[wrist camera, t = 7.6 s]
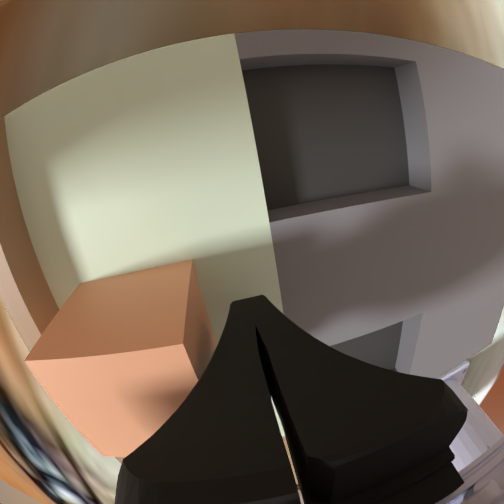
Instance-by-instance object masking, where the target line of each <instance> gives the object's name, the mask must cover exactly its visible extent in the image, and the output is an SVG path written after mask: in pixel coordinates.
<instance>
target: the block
mask: <svg viewBox="0 0 504 504" xmlns="http://www.w3.org/2000/svg"><path fill="white" fill-rule="evenodd" d="M216 347H217V342H216V339H215V336H214V333H213V329H212V326H211V323H210V320H209V316H208V313H207V310H206V306H205V303H204V299H203V296H202V292H201V289H200V285H199V282H198V278H197V275H196V271H195V267H194V264H193V260H192V259H191V260H186V261H182V262H177V263H172V264H168V265H163V266H158V267H154V268H149V269H145V270H140V271H136V272H131V273H126V274H122V275H117V276H113V277H108V278H104V279H99V280H95V281H90V282H86V283H81V284H79V285H78V287H77V288H76V289H75V290H74V292H73V293H72V294H71V295H70V297H69V298H68V299H67V301H66V302H65V303H64V305H63V306H62V307H61V309H60V310H59V311H58V313H57V314H56V315H55V317H54V318H53V320H52V321H51V322H50V324H49V325H48V326H47V328H46V329H45V331H44V332H43V334H42V335H41V337H40V338H39V339H38V341H37V342H36V344H35V345H34V347H33V348H32V350H31V351H30V353H29V355H28V356H27V358H26V359H25V363H26V364H27V366H28V367H29V369H30V370H31V372H32V373H33V375H34V376H35V377H36V379H37V380H38V382H39V383H40V384H41V386H42V387H43V389H44V390H45V391H46V393H47V394H48V395H49V397H50V398H51V399H52V400H53V402H54V403H55V404H56V405H57V407H58V408H59V409H60V410H61V412H62V413H63V414H64V415H65V416H66V417H67V419H68V420H69V421H70V422H71V423H72V424H73V426H74V427H75V428H76V429H77V430H78V431H79V432H80V433H81V434H82V435H83V436H84V437H85V439H86V440H87V441H88V442H89V443H90V444H91V445H92V446H93V447H94V448H95V449H96V450H97V451H98V452H99V453H100V454H101V455H102V456H106V457H126V456H128V455H129V454H130V453H132V452H133V451H134V450H135V449H137V448H138V447H139V446H140V445H141V444H143V443H144V442H145V441H146V440H147V439H148V438H150V437H151V436H152V435H153V434H154V433H155V432H156V431H157V430H158V429H159V428H160V427H161V426H162V425H163V424H164V423H165V422H166V421H167V420H168V419H169V417H170V416H171V415H172V414H173V413H174V412H175V411H176V410H177V409H178V408H179V406H180V405H181V404H182V403H183V401H184V400H185V399H186V397H187V396H188V395H189V393H190V392H191V390H192V389H193V388H194V386H195V385H196V383H197V382H198V380H199V379H200V377H201V375H202V374H203V372H204V370H205V369H206V367H207V365H208V363H209V361H210V359H211V357H212V355H213V353H214V351H215V349H216Z"/></svg>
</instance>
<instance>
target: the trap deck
mask: <svg viewBox="0 0 504 504" xmlns="http://www.w3.org/2000/svg"><path fill="white" fill-rule="evenodd" d="M191 259H192V260H193V264H194V267H195V271H196V275H197V278H198V282H199V285H200V289H201V292H202V296H203V299H204V303H205V306H206V310H207V313H208V316H209V320H210V323H211V326H212V329H213V333H214V336H215V339H216V342H217V345H218V342H219V340H220V337H221V335H222V332H223V329H224V327H225V324H226V321H227V317H228V313H229V309H230V304H231V303H232V301H236V300H241V299H245V298H250V297H254V296H258V295H264V296H266V297H267V298H268V299H269V301H270V302H271V303H272V304H273V305H274V306H275V307H276V308H277V309H278V310H280V311H281V312H282V313H283V314H284V315H285V316H286V317H288V318H289V319H290V320H291V321H293V322H294V323H295V324H296V325H298V326H299V327H300V328H302V329H303V330H304V331H306V332H307V333H309V334H310V335H312V336H313V337H315V338H316V339H318V340H320V341H321V342H323V343H325V344H326V345H328V346H330V347H332V348H334V349H336V350H338V351H340V352H342V353H344V354H346V355H348V356H351V357H354V358H356V359H359V360H361V361H364V362H366V363H369V364H372V365H375V366H378V367H382V368H385V369H389V370H393V371H396V372H400V373H405V374H410V375H416V376H422V377H429V378H436V377H438V376H440V375H442V374H443V373H445V372H447V371H449V370H450V369H452V368H454V367H455V366H457V365H459V364H460V363H462V362H464V361H465V360H467V359H469V358H470V357H472V356H473V355H475V354H476V353H478V352H479V351H481V350H482V349H484V348H485V347H487V346H488V345H490V344H491V343H492V340H493V337H494V334H495V331H496V329H497V326H498V323H499V319H500V316H501V313H502V310H503V306H504V69H503V68H501V67H498V66H496V65H493V64H491V63H488V62H486V61H483V60H480V59H478V58H475V57H472V56H469V55H466V54H463V53H460V52H457V51H454V50H450V49H447V48H443V47H439V46H436V45H432V44H428V43H423V42H419V41H414V40H410V39H405V38H399V37H393V36H387V35H381V34H373V33H365V32H356V31H344V30H326V29H282V30H264V31H251V32H242V33H233V34H226V35H219V36H212V37H207V38H201V39H196V40H191V41H186V42H181V43H177V44H173V45H168V46H164V47H160V48H157V49H153V50H149V51H146V52H143V53H139V54H136V55H133V56H130V57H127V58H124V59H121V60H118V61H115V62H112V63H109V64H107V65H104V66H101V67H99V68H96V69H94V70H91V71H89V72H87V73H84V74H82V75H80V76H77V77H75V78H73V79H71V80H68V81H66V82H64V83H62V84H60V85H58V86H56V87H54V88H52V89H50V90H48V91H46V92H44V93H42V94H41V95H39V96H37V97H35V98H33V99H31V100H30V101H28V102H26V103H25V104H23V105H21V106H20V107H18V108H16V109H15V110H13V111H11V112H10V113H8V114H7V115H5V116H0V297H1V300H2V302H3V304H4V306H5V308H6V310H7V312H8V314H9V316H10V318H11V320H12V322H13V324H14V325H15V327H16V329H17V331H18V333H19V335H20V336H21V338H22V340H23V341H24V343H25V345H26V347H27V348H28V350H29V351H31V350H32V348H33V347H34V345H35V344H36V342H37V341H38V339H39V338H40V337H41V335H42V334H43V332H44V331H45V329H46V328H47V326H48V325H49V324H50V322H51V321H52V320H53V318H54V317H55V315H56V314H57V313H58V311H59V310H60V309H61V307H62V306H63V305H64V303H65V302H66V301H67V299H68V298H69V297H70V295H71V294H72V293H73V292H74V290H75V289H76V288H77V287H78V285H79V284H81V283H86V282H90V281H95V280H99V279H104V278H108V277H113V276H117V275H122V274H126V273H131V272H136V271H140V270H145V269H149V268H154V267H158V266H163V265H168V264H172V263H177V262H182V261H186V260H191ZM271 400H272V398H271ZM272 404H273V408H274V411H275V415H276V418H277V422H278V425H279V429H280V432H281V435H282V436H285V433H284V430H283V427H282V424H281V421H280V418H279V416H278V413H277V410H276V408H275V405H274V403H273V400H272ZM115 458H116V459H117V460H118V461H119V462H121V463H122V460H123V459H124V458H125V457H115Z"/></svg>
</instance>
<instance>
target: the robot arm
mask: <svg viewBox="0 0 504 504" xmlns="http://www.w3.org/2000/svg"><path fill="white" fill-rule="evenodd" d="M469 365H470V362H469V361H468V360H466V361H464V362H462V363H461V364H459V365H457V366H456V367H454V368H452V369H451V370H449V371H447V372H445V373H444V374H442V375H440V376H438V377H436V378H429V377H422V376H416V375H410V374H405V373H400V372H396V371H393V370H389V369H385V368H382V367H378V366H375V365H372V364H369V363H366V362H364V361H361V360H359V359H356V358H354V357H351V356H348V355H346V354H344V353H342V352H340V351H338V350H336V349H334V348H332V347H330V346H328V345H326V344H325V343H323V342H321V341H320V340H318V339H316V338H315V337H313V336H312V335H310V334H309V333H307V332H306V331H304V330H303V329H302V328H300V327H299V326H298V325H296V324H295V323H294V322H293V321H291V320H290V319H289V318H288V317H286V316H285V315H284V314H283V313H282V312H281V311H280V310H278V309H277V308H276V307H275V306H274V305H273V304H272V303H271V302H270V301H269V299H268V298H267V297H266V296H264V295H258V296H254V297H250V298H245V299H241V300H236V301H232V303H231V304H230V309H229V313H228V317H227V321H226V324H225V327H224V329H223V332H222V335H221V337H220V340H219V342H218V345H217V347H216V349H215V351H214V353H213V355H212V357H211V359H210V361H209V363H208V365H207V367H206V369H205V370H204V372H203V374H202V375H201V377H200V379H199V380H198V382H197V383H196V385H195V386H194V388H193V389H192V390H191V392H190V393H189V395H188V396H187V397H186V399H185V400H184V401H183V403H182V404H181V405H180V406H179V408H178V409H177V410H176V411H175V412H174V413H173V414H172V415H171V416H170V417H169V419H168V420H167V421H166V422H165V423H164V424H163V425H162V426H161V427H160V428H159V429H158V430H157V431H156V432H155V433H154V434H153V435H152V436H151V437H150V438H148V439H147V440H146V441H145V442H144V443H143V444H141V445H140V446H139V447H138V448H137V449H135V450H134V451H133V452H132V453H130V454H129V455H128V456H126V457H125V458H124V459H123V460H122V465H121V468H120V472H119V475H118V481H117V488H116V496H115V504H301V501H300V496H299V492H298V489H297V486H296V482H295V479H294V475H293V472H292V468H291V465H290V462H289V458H288V455H287V452H286V449H285V445H284V442H283V439H282V435H281V432H280V429H279V425H278V422H277V418H276V415H275V411H274V408H273V404H272V400H273V403H274V405H275V408H276V410H277V413H278V416H279V418H280V421H281V424H282V427H283V430H284V433H285V437H286V441H287V444H288V448H289V451H290V455H291V459H292V462H293V466H294V469H295V473H296V476H297V480H298V484H299V487H300V491H301V494H302V498H303V501H304V504H504V436H503V435H502V434H501V432H500V431H499V430H498V428H497V427H496V426H495V425H494V423H493V422H492V421H491V420H490V418H489V417H488V416H487V415H486V414H485V412H484V411H483V410H482V409H481V407H480V406H479V405H478V404H477V403H476V401H475V400H474V399H473V398H472V397H471V396H470V394H469V393H468V392H467V391H466V390H465V389H464V387H463V386H462V385H461V384H462V381H463V379H464V377H465V374H466V372H467V370H468V367H469ZM271 398H272V400H271ZM0 504H1V503H0Z"/></svg>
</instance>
